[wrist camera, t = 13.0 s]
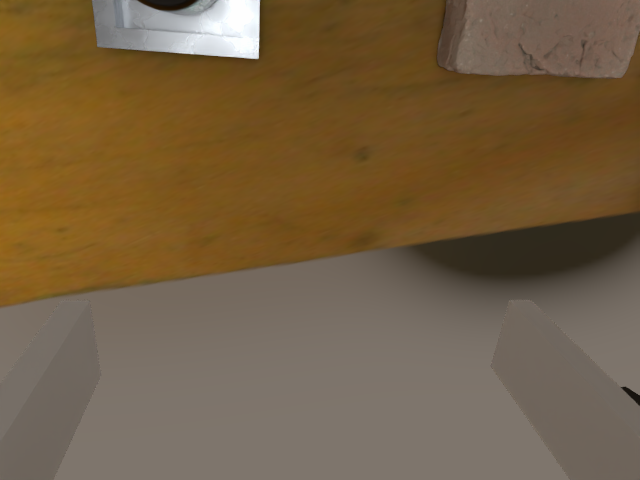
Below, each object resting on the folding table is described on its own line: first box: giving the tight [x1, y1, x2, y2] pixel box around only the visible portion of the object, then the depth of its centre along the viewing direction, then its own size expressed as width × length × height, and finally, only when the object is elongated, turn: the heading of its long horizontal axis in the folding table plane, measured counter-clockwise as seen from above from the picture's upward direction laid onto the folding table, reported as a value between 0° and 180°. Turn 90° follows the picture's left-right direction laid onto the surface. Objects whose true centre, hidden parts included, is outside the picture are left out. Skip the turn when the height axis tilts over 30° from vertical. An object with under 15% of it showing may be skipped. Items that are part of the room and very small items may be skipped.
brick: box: [437, 0, 640, 78], centre depth 40 cm, size 17×8×5 cm, turn 88°
